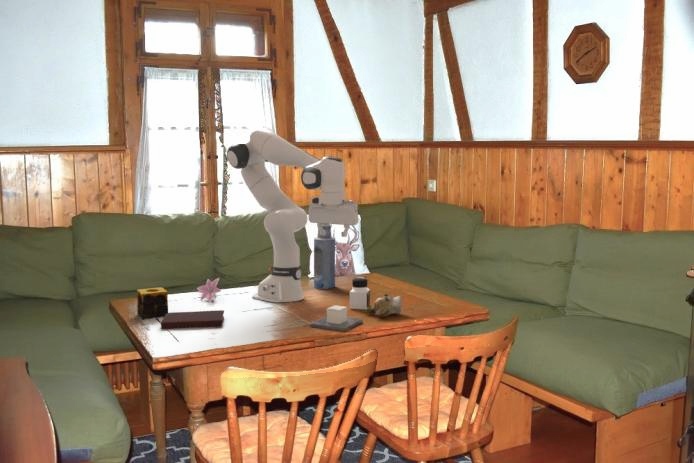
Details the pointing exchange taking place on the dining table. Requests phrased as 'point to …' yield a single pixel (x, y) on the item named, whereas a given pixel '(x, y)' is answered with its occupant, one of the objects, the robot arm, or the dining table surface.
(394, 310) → the ceramic sculpture
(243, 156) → the robot arm
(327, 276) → the grey elongated piece
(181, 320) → the book
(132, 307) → the dining table surface
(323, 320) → the post plate
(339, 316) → the cream rectangular prism
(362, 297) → the medicine bottle
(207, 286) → the lily
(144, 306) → the yellow holed cube
